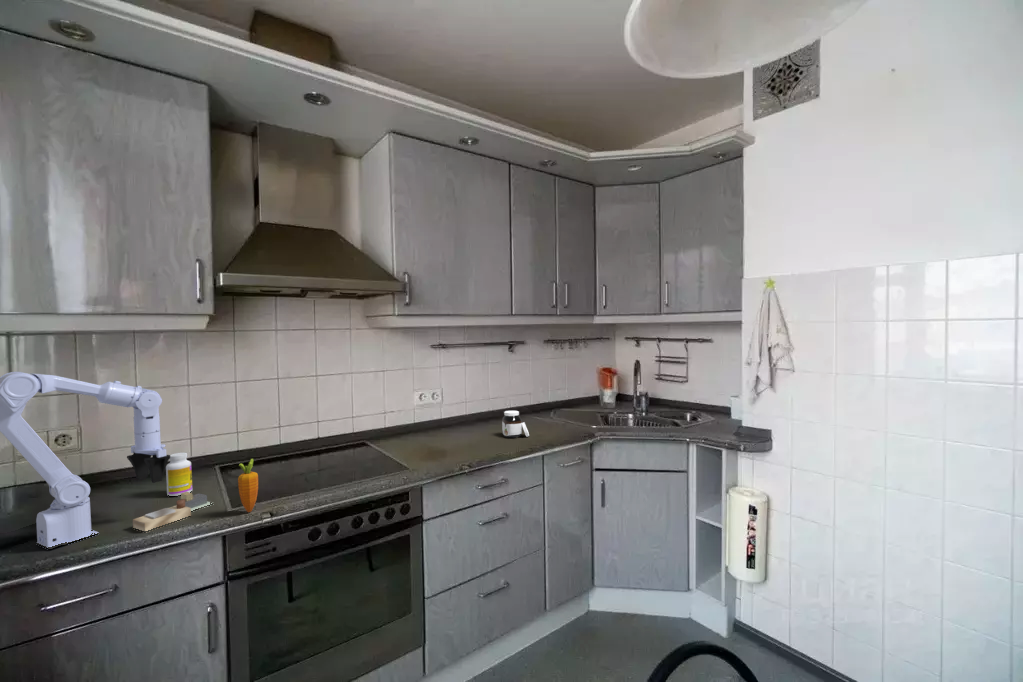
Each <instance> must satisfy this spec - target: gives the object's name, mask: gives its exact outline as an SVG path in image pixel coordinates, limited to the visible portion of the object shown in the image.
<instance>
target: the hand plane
mask: <svg viewBox="0 0 1023 682" xmlns="http://www.w3.org/2000/svg"><path fill="white" fill-rule="evenodd" d="M175 504H176V505H173V506H171V507H164V508H161V509H158V510H155V511H152V512H149V513H146V514H144V515H143V516H140V517H139V516H138V517H136V518H133V519H132V529H133V528H136V529H139V530H142V531H148V530H151V529H153V528H156V527H159V526H162V525H165V524H168V523H171V522H174V521H177V520H180V519H182V518H185V517H188V516H191V517H192V512H191V508H189V507H185V499H181V498H179V499H177V500H176V503H175ZM180 521H181V520H180ZM177 522H178V521H177Z"/></svg>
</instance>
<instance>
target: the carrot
mask: <svg viewBox="0 0 1023 682" xmlns="http://www.w3.org/2000/svg"><path fill="white" fill-rule="evenodd" d="M253 465H254V458H250V461H249V462H248V464H247V465H244V464H243V463H239V465H238V467H240V469H242V471H243V472H242V473H241V474H240V475H239V476H238V478H237V484H238V493H239V497H240V501H241V504H242V506H243V508H244V509H245V511H246V512H247V513H249V512H250V513H251V512H252V511H253V509H254V507H255V505H256V502H257V497H258V492H259V475H258V473H257V472H255V471H251V470H252V468H253V467H254V466H253Z"/></svg>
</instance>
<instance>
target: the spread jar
mask: <svg viewBox="0 0 1023 682" xmlns="http://www.w3.org/2000/svg"><path fill="white" fill-rule="evenodd" d="M503 414H504V416H503V417H502V421H501V422H502V423H501V425H502V426H501V427H502V434H503V437H504V438H506V439H517V438H516V437H518V438H520V437H521V435H522V433H523V432H524V434H525V437H526V438H527V437H530V433H529V430H528V428H527V424H526V422H525V421H524V422H522V418H521V416H520V411H518V410H505V411H503Z"/></svg>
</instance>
